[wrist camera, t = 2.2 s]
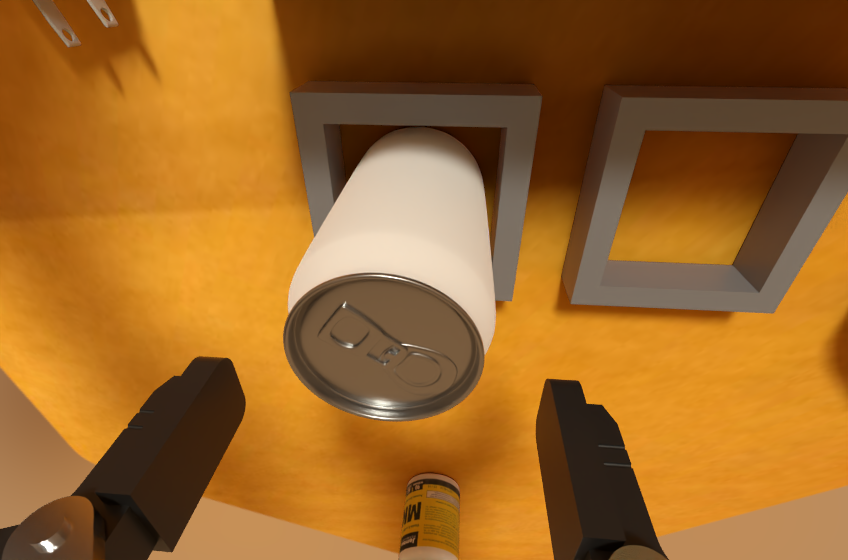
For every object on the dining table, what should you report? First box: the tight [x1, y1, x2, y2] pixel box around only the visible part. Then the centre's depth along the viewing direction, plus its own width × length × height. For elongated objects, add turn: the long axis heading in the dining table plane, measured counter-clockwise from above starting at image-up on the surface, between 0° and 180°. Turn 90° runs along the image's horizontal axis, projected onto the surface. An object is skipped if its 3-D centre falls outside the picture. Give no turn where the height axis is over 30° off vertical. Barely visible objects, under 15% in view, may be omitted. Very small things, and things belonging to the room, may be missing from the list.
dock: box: [290, 81, 848, 313], centre depth 16 cm, size 25×14×9 cm, turn 90°
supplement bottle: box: [398, 473, 460, 560], centre depth 34 cm, size 5×5×8 cm
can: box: [283, 127, 496, 421], centre depth 17 cm, size 6×6×12 cm
